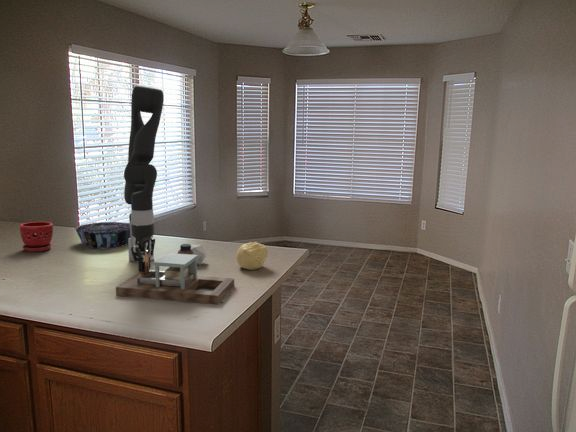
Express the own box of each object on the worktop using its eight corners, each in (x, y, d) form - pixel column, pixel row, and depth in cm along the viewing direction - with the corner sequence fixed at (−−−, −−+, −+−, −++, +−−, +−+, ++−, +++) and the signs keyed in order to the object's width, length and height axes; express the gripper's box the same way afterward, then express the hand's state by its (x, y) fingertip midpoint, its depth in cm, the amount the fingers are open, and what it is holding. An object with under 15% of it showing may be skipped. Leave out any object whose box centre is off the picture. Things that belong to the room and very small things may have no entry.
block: (165, 284, 163) (164, 270, 162) (172, 279, 169) (172, 265, 168) (181, 286, 162) (181, 271, 161) (188, 280, 168) (188, 266, 167)
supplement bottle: (180, 276, 182) (179, 247, 180) (176, 271, 187) (175, 243, 185) (195, 274, 185) (195, 245, 183) (191, 269, 190) (190, 242, 188)
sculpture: (251, 273, 187) (251, 247, 185) (231, 267, 195) (230, 241, 193) (271, 267, 195) (271, 242, 193) (251, 261, 203) (251, 237, 201)
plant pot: (45, 253, 210) (43, 226, 208) (15, 252, 210) (13, 226, 208) (59, 246, 223) (58, 221, 220) (32, 245, 223) (29, 220, 221)
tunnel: (154, 286, 161) (153, 262, 159) (169, 276, 172) (168, 253, 171) (185, 289, 159) (184, 264, 157) (198, 278, 170) (197, 255, 169)
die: (195, 269, 193) (209, 249, 195) (178, 258, 194) (191, 238, 195) (199, 270, 201) (212, 251, 203) (182, 259, 202) (195, 240, 203)
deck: (116, 295, 160) (115, 286, 160) (141, 278, 178) (141, 271, 177) (218, 304, 154) (218, 295, 154) (234, 286, 172) (234, 278, 171)
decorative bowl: (102, 257, 212) (102, 236, 210) (62, 244, 225) (62, 224, 223) (145, 245, 234) (146, 226, 232) (107, 234, 247) (107, 215, 245)
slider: (134, 282, 163) (133, 257, 162) (146, 275, 172) (145, 250, 170) (184, 287, 160) (183, 261, 159) (194, 278, 169) (193, 254, 167)
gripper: (142, 217, 171) (144, 264, 174) (122, 225, 158) (124, 275, 161) (161, 219, 170) (163, 265, 173) (143, 226, 156) (145, 277, 159)
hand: (144, 270), depth 167 cm, fingers closed on slider, 3 cm apart
